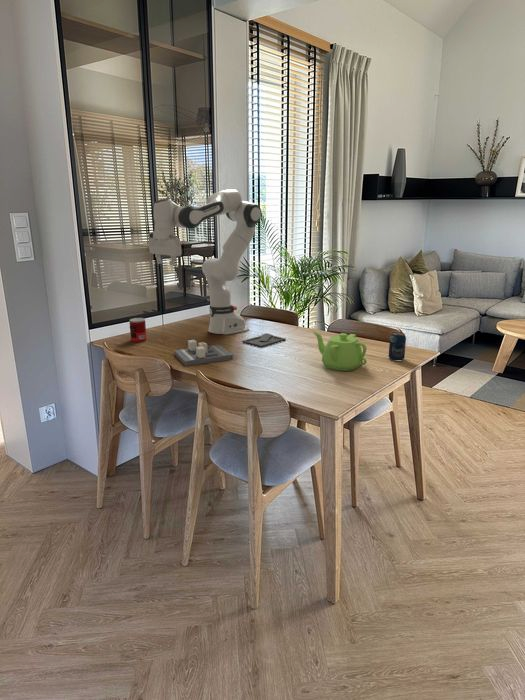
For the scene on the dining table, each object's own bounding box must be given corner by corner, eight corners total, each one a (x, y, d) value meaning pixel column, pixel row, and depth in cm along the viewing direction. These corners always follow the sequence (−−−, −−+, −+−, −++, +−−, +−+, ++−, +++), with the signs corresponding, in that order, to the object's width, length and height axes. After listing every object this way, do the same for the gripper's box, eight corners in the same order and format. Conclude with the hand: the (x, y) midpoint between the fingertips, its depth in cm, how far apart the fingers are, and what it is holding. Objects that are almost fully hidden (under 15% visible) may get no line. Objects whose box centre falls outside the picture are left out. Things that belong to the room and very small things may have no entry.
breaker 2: (202, 354, 218) (202, 346, 217) (205, 357, 215) (205, 348, 214) (196, 355, 217) (195, 347, 216) (198, 358, 214) (198, 349, 213)
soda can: (392, 362, 215) (394, 336, 211) (385, 357, 221) (387, 332, 218) (407, 361, 216) (409, 335, 213) (399, 356, 222) (401, 331, 219)
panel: (219, 348, 235) (218, 344, 235) (232, 359, 220) (232, 354, 219) (174, 354, 227) (174, 350, 226) (185, 365, 211) (185, 360, 210)
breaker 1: (194, 347, 229) (194, 339, 228) (197, 350, 225) (196, 341, 224) (188, 348, 228) (188, 340, 226) (190, 350, 224) (190, 342, 223)
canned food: (148, 338, 254) (147, 317, 251) (143, 342, 246) (141, 321, 243) (134, 338, 255) (132, 317, 251) (128, 342, 247) (127, 321, 244)
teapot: (370, 371, 203) (372, 338, 199) (324, 375, 199) (326, 341, 195) (354, 358, 221) (355, 327, 216) (311, 361, 217) (312, 329, 213)
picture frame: (266, 336, 258) (242, 343, 246) (266, 333, 257) (242, 339, 245) (285, 341, 249) (261, 348, 237) (285, 337, 249) (261, 345, 236)
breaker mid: (204, 350, 225) (204, 341, 224) (207, 352, 221) (207, 343, 220) (198, 351, 224) (198, 342, 222) (201, 353, 220) (200, 344, 219)
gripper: (184, 235, 225) (185, 265, 229) (156, 233, 238) (158, 262, 242) (173, 236, 221) (174, 266, 225) (146, 234, 234) (147, 263, 238)
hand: (165, 264), depth 234 cm, fingers open, 8 cm apart
